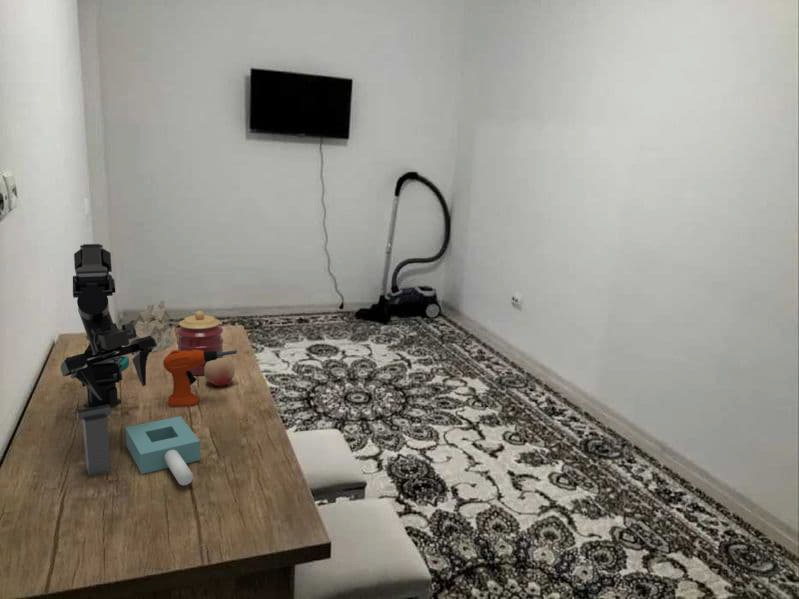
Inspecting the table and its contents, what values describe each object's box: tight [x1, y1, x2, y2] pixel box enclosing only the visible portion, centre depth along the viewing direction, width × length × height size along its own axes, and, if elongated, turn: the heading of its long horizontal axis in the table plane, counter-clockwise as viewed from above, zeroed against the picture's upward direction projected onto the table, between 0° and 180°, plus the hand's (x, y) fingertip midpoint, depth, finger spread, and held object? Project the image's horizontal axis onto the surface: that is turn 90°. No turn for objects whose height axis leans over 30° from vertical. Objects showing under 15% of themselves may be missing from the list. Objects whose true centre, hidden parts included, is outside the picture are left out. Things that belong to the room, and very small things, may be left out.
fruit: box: [203, 357, 235, 387], centre depth 175 cm, size 8×8×8 cm
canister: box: [176, 310, 224, 376], centre depth 185 cm, size 13×13×18 cm
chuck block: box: [124, 415, 201, 486], centre depth 133 cm, size 24×12×4 cm, turn 35°
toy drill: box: [162, 349, 238, 408], centre depth 162 cm, size 5×19×15 cm, turn 105°
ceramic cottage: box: [127, 300, 174, 353], centre depth 203 cm, size 16×16×15 cm
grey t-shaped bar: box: [76, 404, 112, 477], centre depth 128 cm, size 4×6×14 cm, turn 125°
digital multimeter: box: [115, 355, 130, 372], centre depth 184 cm, size 7×15×3 cm, turn 95°
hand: (123, 392), depth 135 cm, fingers open, 9 cm apart
